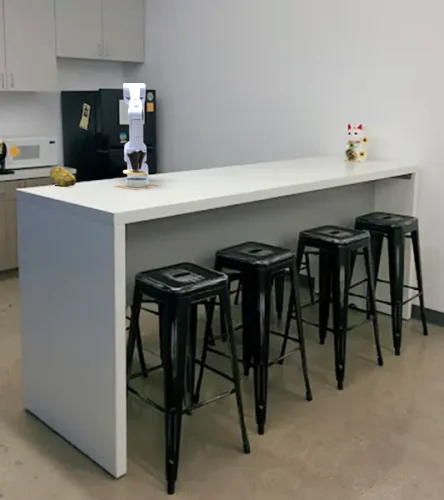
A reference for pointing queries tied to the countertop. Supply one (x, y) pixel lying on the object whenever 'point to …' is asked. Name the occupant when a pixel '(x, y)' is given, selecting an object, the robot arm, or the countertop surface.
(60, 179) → the potato
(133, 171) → the lid
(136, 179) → the bowl
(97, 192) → the countertop surface
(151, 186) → the board
